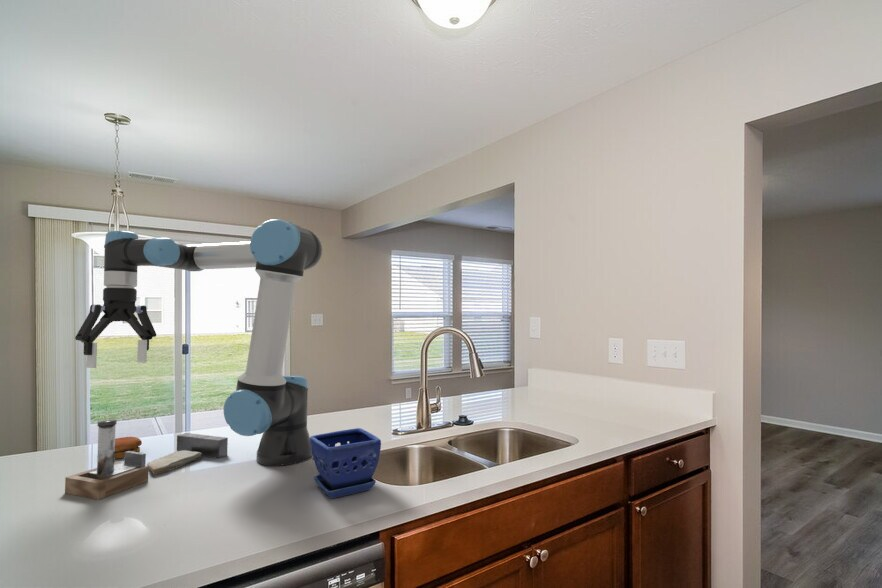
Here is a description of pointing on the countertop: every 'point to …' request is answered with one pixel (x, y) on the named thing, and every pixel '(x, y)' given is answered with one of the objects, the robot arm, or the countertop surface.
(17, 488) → the countertop surface
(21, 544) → the countertop surface
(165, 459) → the stone
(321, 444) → the flower pot
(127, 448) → the burger
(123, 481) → the frame
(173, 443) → the countertop surface
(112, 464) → the ram
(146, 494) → the countertop surface
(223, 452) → the grey rectangular bar
